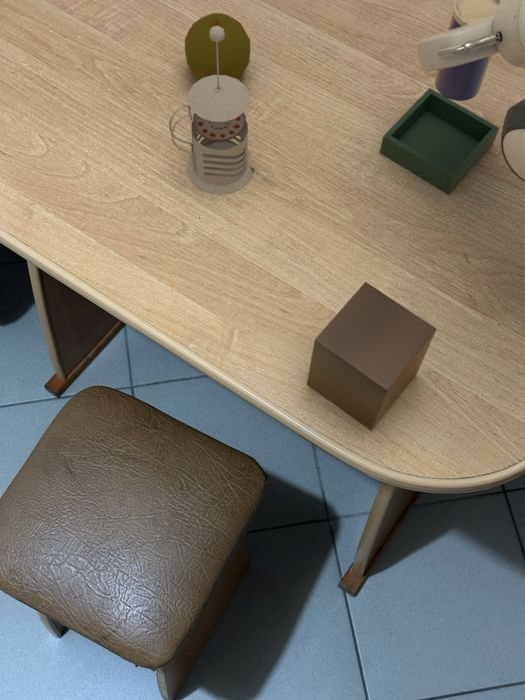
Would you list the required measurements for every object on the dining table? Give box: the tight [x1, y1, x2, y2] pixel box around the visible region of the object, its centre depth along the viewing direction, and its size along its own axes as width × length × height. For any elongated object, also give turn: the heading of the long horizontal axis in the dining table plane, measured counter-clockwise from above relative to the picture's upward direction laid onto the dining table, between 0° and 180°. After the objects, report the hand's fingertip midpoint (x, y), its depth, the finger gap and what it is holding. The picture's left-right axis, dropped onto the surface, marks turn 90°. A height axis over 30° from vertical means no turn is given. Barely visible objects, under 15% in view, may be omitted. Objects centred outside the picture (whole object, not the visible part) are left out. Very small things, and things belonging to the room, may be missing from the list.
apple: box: [184, 12, 251, 81], centre depth 124 cm, size 10×10×11 cm
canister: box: [434, 0, 501, 102], centre depth 105 cm, size 6×6×12 cm
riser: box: [306, 281, 438, 432], centre depth 100 cm, size 10×10×12 cm
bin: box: [379, 87, 500, 196], centre depth 121 cm, size 12×12×4 cm
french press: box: [168, 26, 255, 195], centre depth 109 cm, size 10×12×25 cm
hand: (468, 37), depth 105 cm, fingers closed on canister, 6 cm apart
